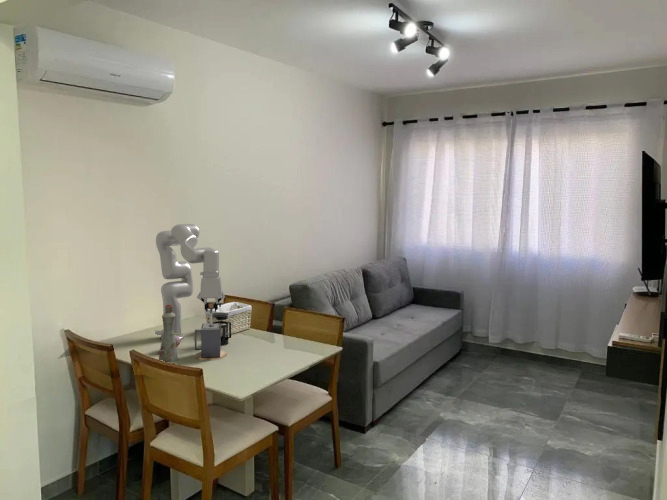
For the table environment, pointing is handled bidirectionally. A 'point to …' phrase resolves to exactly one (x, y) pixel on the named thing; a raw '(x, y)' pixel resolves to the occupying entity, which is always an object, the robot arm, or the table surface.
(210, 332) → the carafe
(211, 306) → the plunger
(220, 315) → the french press
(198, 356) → the coaster
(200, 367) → the table surface
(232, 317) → the storage basket
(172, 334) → the bottle
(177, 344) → the decorative fruit
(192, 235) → the robot arm
